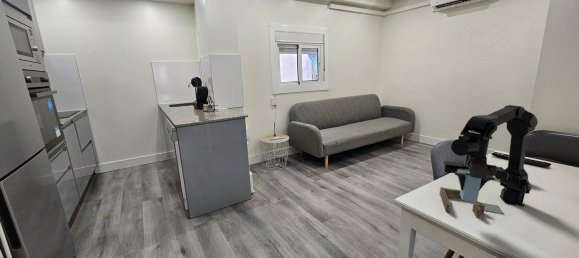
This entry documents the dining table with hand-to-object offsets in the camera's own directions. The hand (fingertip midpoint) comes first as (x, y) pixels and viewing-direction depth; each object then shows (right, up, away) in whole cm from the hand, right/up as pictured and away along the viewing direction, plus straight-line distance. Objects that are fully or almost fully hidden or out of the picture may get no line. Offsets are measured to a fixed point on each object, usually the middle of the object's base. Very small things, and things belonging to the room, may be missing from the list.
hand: (469, 190), depth 90 cm
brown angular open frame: (+6, -9, +12) cm, 16 cm away
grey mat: (+16, -10, +10) cm, 21 cm away
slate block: (0, -3, +1) cm, 3 cm away
